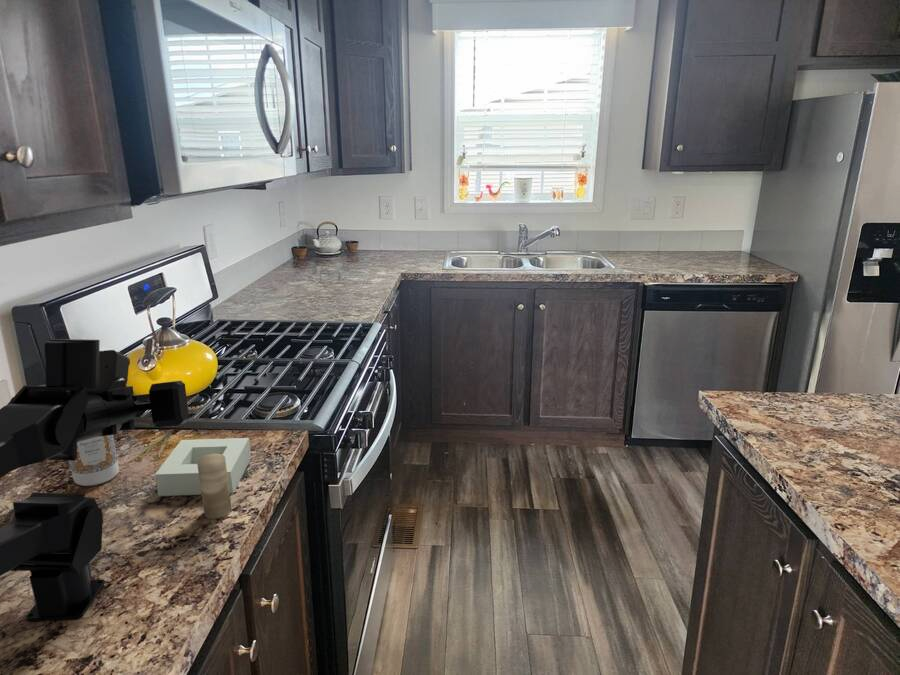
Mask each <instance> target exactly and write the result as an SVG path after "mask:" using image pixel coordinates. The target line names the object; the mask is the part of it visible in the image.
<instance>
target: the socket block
mask: <svg viewBox="0 0 900 675" xmlns="http://www.w3.org/2000/svg"><path fill="white" fill-rule="evenodd" d="M209 454H222V455H224V456H225V461H226V469H227V476H228V484H229V492H230V494H234V492H235V491H236V489H237V487H238V485H239V483H240V481H241V479H242V477H243V475H244V473H245V471H246V469H247V467H248V465H249V463H250V462H251V458H252V453H251V444H250V438H249V437H238V438H236V437H235V438H234V437H233V438H207V439H206V438H205V439H204V438H199V439H180V440H179V442H178V444H177V445H176V446H175V448H174V449H173V450H172V451H171V453H170V454H169V455H168V456H167V458H166V460H165V461H164V462H163V463H162V464H161V466H160V467H159V468H158V470H157V471H156V473H155V474H154V477H155V483H156V490H157V495H158V497H169V496H195V495H196V496H197V495H198V496H199V495H200V496H202V493H201V486H200V479H199V472H198V465H197V461H198V460H199V459H200V458H201V457H203V456H206V455H209Z"/></svg>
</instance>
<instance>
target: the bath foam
mask: <svg viewBox="0 0 900 675" xmlns="http://www.w3.org/2000/svg"><path fill="white" fill-rule="evenodd" d="M117 455H118V454H117V449H116V445H115V438H114V435H107V436H98V437H94V438H90V439H87V440H83V441H80V442H77V459H76V460H75V461H68V462H69V467H70V470H71V474H72V479H73V482H74V483H75V484H76V485H79V486H83V487H91V486H97V485H101V484H104V483H107V482H108V481H110V480H112V479H114V478H115V477H116V476H117V475H118V474H119V471H120V467H119V462H118V456H117Z"/></svg>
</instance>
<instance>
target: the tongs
mask: <svg viewBox="0 0 900 675" xmlns="http://www.w3.org/2000/svg"><path fill="white" fill-rule="evenodd" d="M174 431H175V430H174V429H169V431H167V433H166V434H164V435H163V436H162V437H161V438H159V439H156V440H155V441H153V442H152V443H150V444H149V445H148V446H147V447H146V448H145V449H144V450H142V453H140V455H138V456H136V457H135V461H136V462H140V463H143V458H144V457H145V456H146V455H147V454H148V453H149V452H150V451H151V450H153V449H154V448H155V447H156V446H157V445H159V444H160V443H161V442H163V443H162V444H161V446H160V449H159V450H158V453H157V456H156V457H153V458H151V459H149V462H150V463H151V462H155V461H156V462H157V461H158V460H159V459H160V457H161V455H162V453H163V451H164V449H165V447H166V444H167V442H168V440H169V438H170V437H171V435H172V434H173V433H174ZM161 458H162V457H161Z"/></svg>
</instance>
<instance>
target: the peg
mask: <svg viewBox="0 0 900 675" xmlns="http://www.w3.org/2000/svg"><path fill="white" fill-rule="evenodd" d="M197 465H198V472H199V479H200V486H201V493H202V495H201V499H202V507H203V512H204V513H203V515H204V516H205V518H207V519H211V520H212V519H213V520H216V519H220V518H223V517H226V516H227V515H229V514H230V513H231V511H232V510H233V509H232V503H231V493H230V492H229V484H228V476H227V469H226V461H225V456H224V455H222V454H209V455H206V456H203V457H201V458H200V459H199V460H198V461H197Z"/></svg>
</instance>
